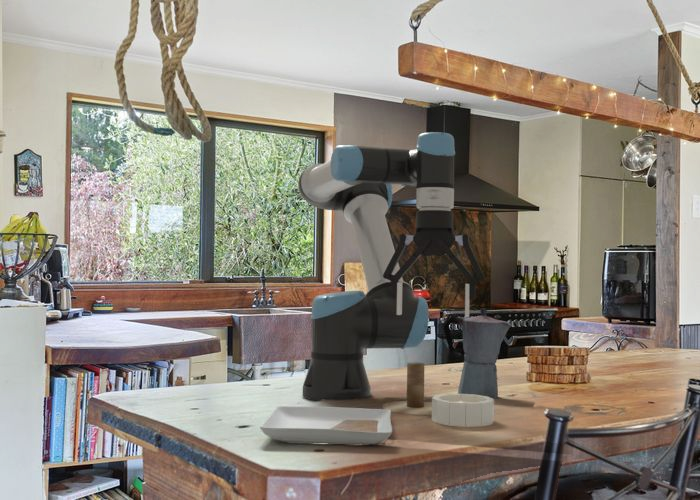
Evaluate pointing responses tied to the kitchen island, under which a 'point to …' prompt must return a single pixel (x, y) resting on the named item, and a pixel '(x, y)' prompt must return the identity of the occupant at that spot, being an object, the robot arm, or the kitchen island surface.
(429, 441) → the kitchen island surface
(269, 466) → the kitchen island surface
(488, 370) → the moka pot
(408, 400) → the lid
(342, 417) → the salad plate
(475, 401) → the bowl
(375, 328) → the robot arm
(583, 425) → the kitchen island surface
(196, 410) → the kitchen island surface
